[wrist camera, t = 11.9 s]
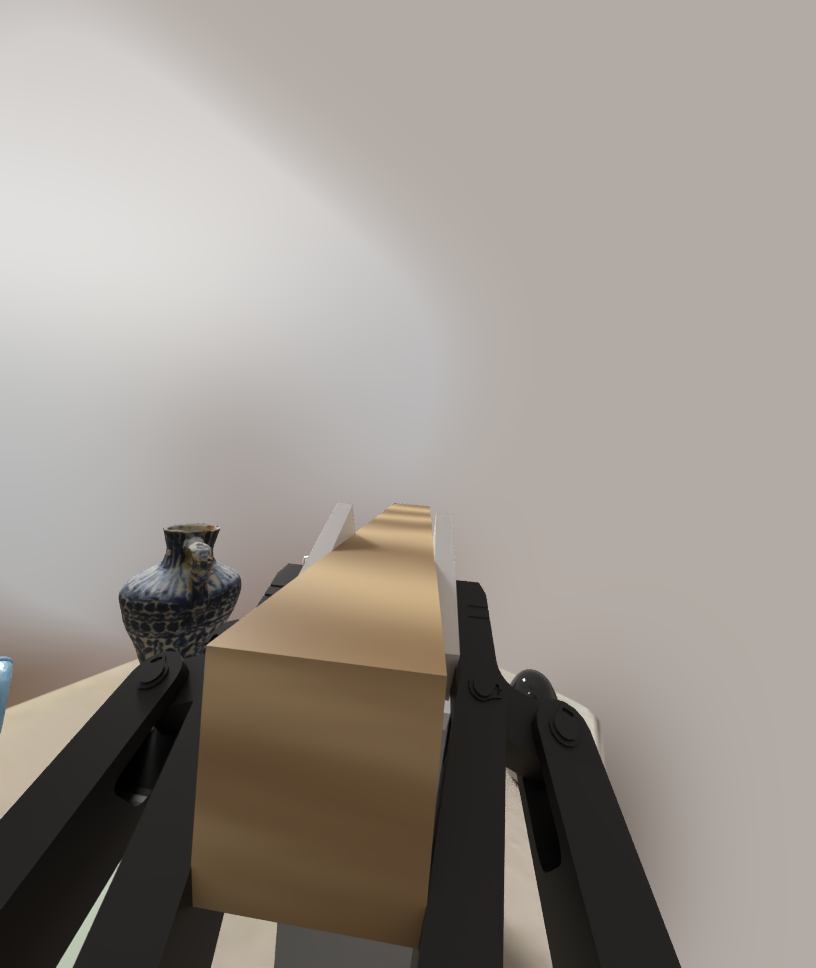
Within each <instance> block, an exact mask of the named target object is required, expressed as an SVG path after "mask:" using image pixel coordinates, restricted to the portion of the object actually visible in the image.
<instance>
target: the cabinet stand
mask: <svg viewBox="0 0 816 968" xmlns="http://www.w3.org/2000/svg"><path fill="white" fill-rule="evenodd" d="M449 716H450V698H449V701H446V700H445V705H444V717H443V728H442V739H441V750H440V762H439V773H438V784H437V791H438V785H439V778H440V772H441V765H442V759H443V752H444V746H445V740H446V733H447V730H446V728H447V724H448V720H449ZM436 798H437V796H436ZM412 952H413V948H410V947H405V946H400V945H394V944H389V943H384V942H378V941H373V940H368V939H363V938H357V937H352V936H347V935H341V934H336V933H331V932H325V931H320V930H315V929H309V928H304V927H299V926H293V925H288V924H283V923H277V936H276V950H275V963H274V968H410V965H411V958H412Z"/></svg>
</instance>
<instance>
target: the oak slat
mask: <svg viewBox="0 0 816 968" xmlns="http://www.w3.org/2000/svg"><path fill="white" fill-rule="evenodd" d="M446 683H447V670H446V661H445V651H444V641H443V631H442V622H441V612H440V602H439V593H438V583H437V573H436V564H435V559H434V548H433V535H432V525H431V515H430V507H428V506H418V505H407V504H396V503H394V504H393V505H392V506H390V507H389V508H388V509H386V510H385V511H384V512H382V513H381V514H380V515H378V516H377V517H376V518H374V519H373V520H372V521H370V522H369V523H368V524H366V525H365V526H364V527H362V528H361V529H360V530H358V531H357V532H356V533H355V534H353V535H352V536H351V537H350V538H348V539H347V540H346V541H344V542H343V543H342V544H340V545H339V546H338V547H336V548H335V549H334V550H332V551H331V552H329V553H328V554H327V555H325V556H324V557H323V558H321V559H320V560H319V561H317V562H316V563H315V564H313V565H312V566H311V567H309V568H308V569H307V570H305V571H304V572H303V573H301V574H300V575H299V576H297V577H296V578H295V579H293V580H292V581H291V582H290V583H288V584H287V585H286V586H284V587H283V588H282V589H280V590H279V591H278V592H276V593H275V594H274V595H272V596H271V597H270V598H268V599H267V600H266V601H264V602H263V603H262V604H260V605H259V606H258V607H256V608H255V609H254V610H252V611H251V612H250V613H248V614H247V615H246V616H244V617H243V618H242V619H240V620H239V621H238V622H236V623H235V624H234V625H233V626H231V627H230V628H229V629H227V630H226V631H225V632H223V633H222V634H221V635H219V636H218V637H217V638H215V639H214V640H213V641H211V642H210V643H209V644H207V645H206V654H205V668H204V683H203V697H202V712H201V726H200V741H199V755H198V769H197V784H196V798H195V813H194V827H193V842H192V856H191V871H192V901H193V907H197V908H203V909H208V910H213V911H219V912H224V913H229V914H235V915H240V916H245V917H251V918H256V919H261V920H267V921H272V922H277V923H283V924H288V925H293V926H299V927H304V928H309V929H315V930H320V931H325V932H331V933H336V934H341V935H347V936H352V937H357V938H363V939H368V940H373V941H378V942H384V943H389V944H394V945H400V946H405V947H410V948H416V949H418V946H419V941H420V936H421V931H422V925H423V920H424V915H425V910H426V907H427V897H428V886H429V874H430V863H431V852H432V841H433V829H434V818H435V807H436V796H437V784H438V773H439V762H440V750H441V739H442V728H443V717H444V705H445V694H446Z"/></svg>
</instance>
